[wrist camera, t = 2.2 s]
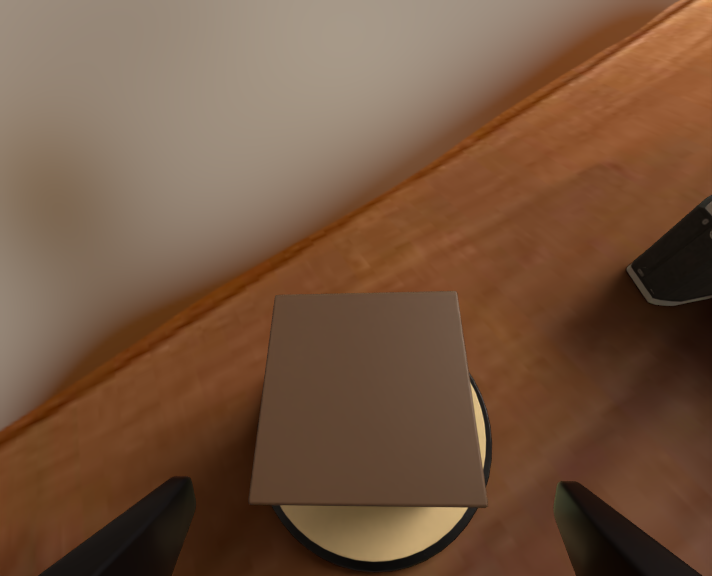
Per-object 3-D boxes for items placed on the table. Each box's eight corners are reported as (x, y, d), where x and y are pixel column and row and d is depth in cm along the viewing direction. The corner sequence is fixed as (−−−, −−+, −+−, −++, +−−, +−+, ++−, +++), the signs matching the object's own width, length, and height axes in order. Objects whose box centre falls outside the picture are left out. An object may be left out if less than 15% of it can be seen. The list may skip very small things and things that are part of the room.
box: (503, 562, 15) (623, 641, 8) (248, 557, 16) (128, 624, 8) (466, 322, 20) (516, 230, 13) (276, 325, 21) (219, 239, 14)
